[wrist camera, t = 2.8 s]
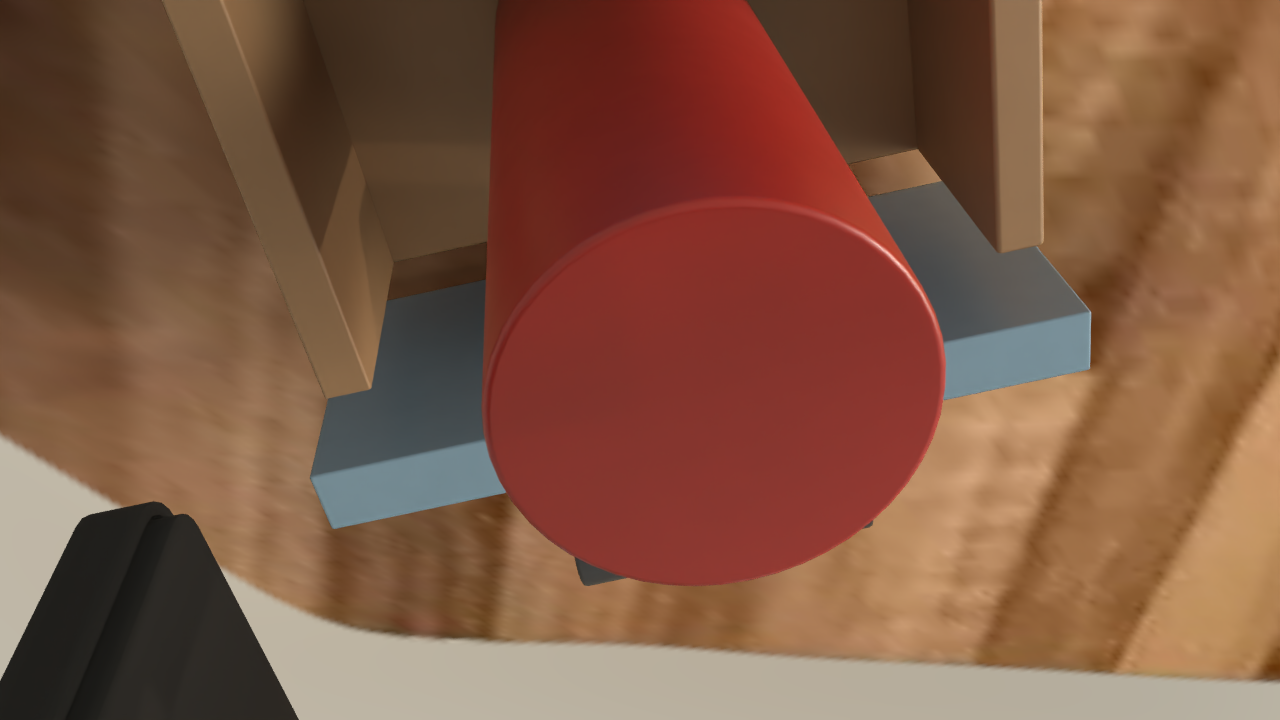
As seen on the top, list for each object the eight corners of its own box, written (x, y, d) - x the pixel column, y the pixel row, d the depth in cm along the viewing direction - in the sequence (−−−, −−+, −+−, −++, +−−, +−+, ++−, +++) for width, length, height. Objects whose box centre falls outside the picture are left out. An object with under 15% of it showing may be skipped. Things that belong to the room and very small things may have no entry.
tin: (528, 171, 22) (543, 626, 12) (465, -65, 20) (422, 261, 10) (755, 121, 22) (958, 540, 12) (720, -122, 20) (935, 149, 10)
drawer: (984, 384, 27) (1087, 550, 23) (421, 502, 28) (403, 692, 23) (940, -738, 17) (1115, -882, 12) (31, -526, 17) (-159, -581, 12)
